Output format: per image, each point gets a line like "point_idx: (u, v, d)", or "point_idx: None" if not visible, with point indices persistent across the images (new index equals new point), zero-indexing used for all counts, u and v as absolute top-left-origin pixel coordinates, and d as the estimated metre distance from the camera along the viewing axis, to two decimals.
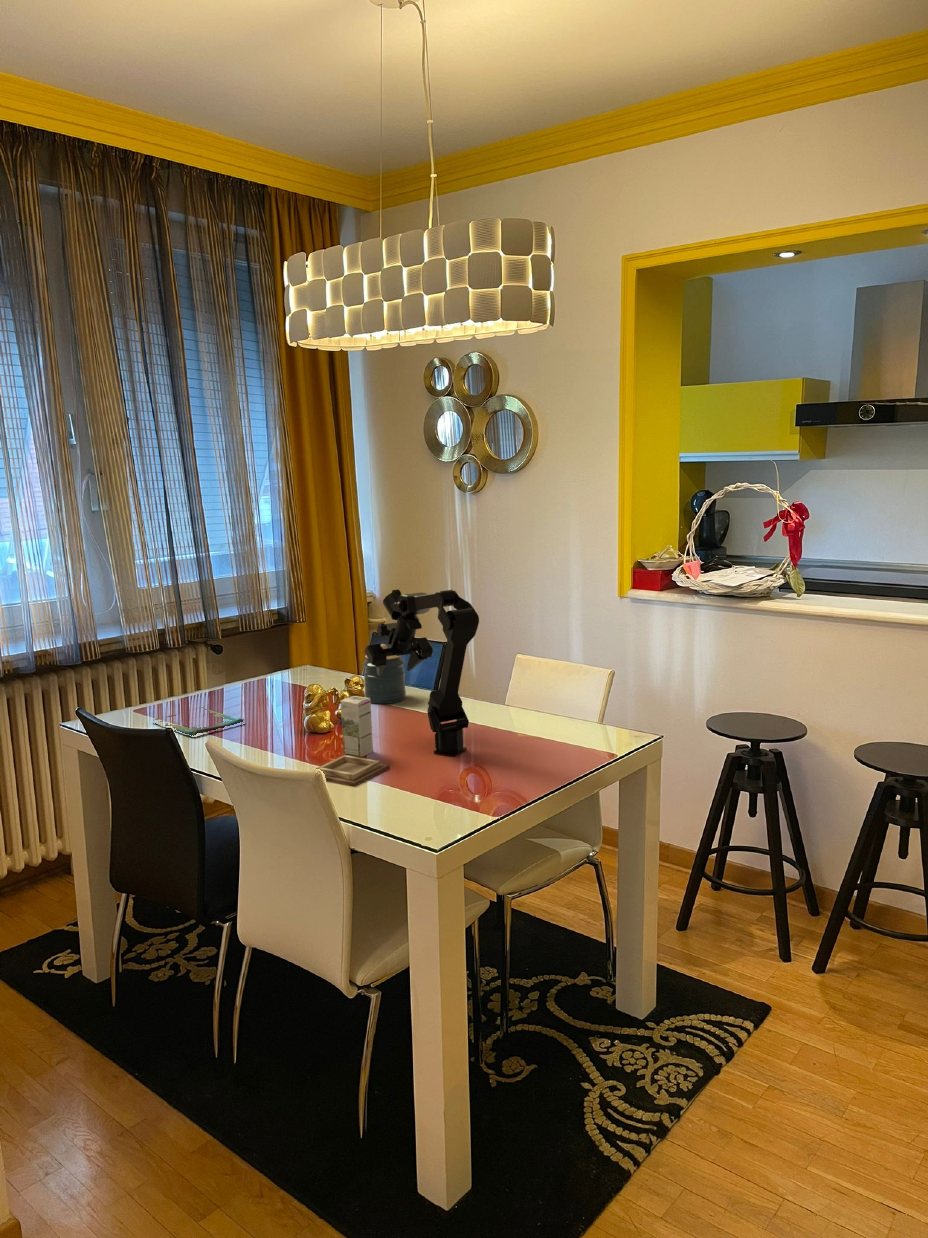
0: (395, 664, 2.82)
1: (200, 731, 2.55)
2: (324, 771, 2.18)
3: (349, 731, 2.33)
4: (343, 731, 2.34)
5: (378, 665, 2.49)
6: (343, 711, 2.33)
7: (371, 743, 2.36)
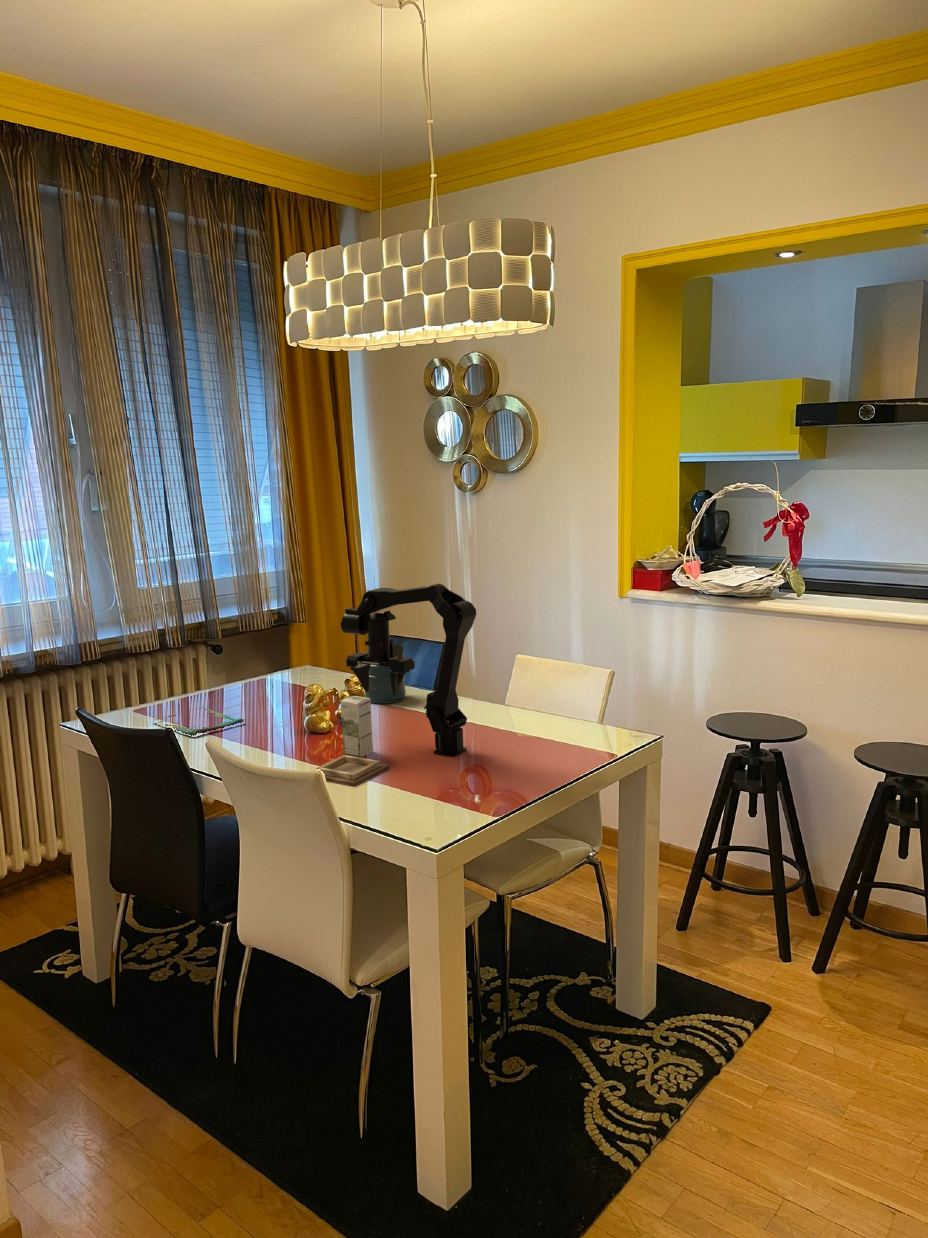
0: None
1: (200, 731, 2.55)
2: (324, 771, 2.18)
3: (349, 731, 2.33)
4: (343, 731, 2.34)
5: (350, 667, 2.43)
6: (343, 711, 2.33)
7: (371, 743, 2.36)
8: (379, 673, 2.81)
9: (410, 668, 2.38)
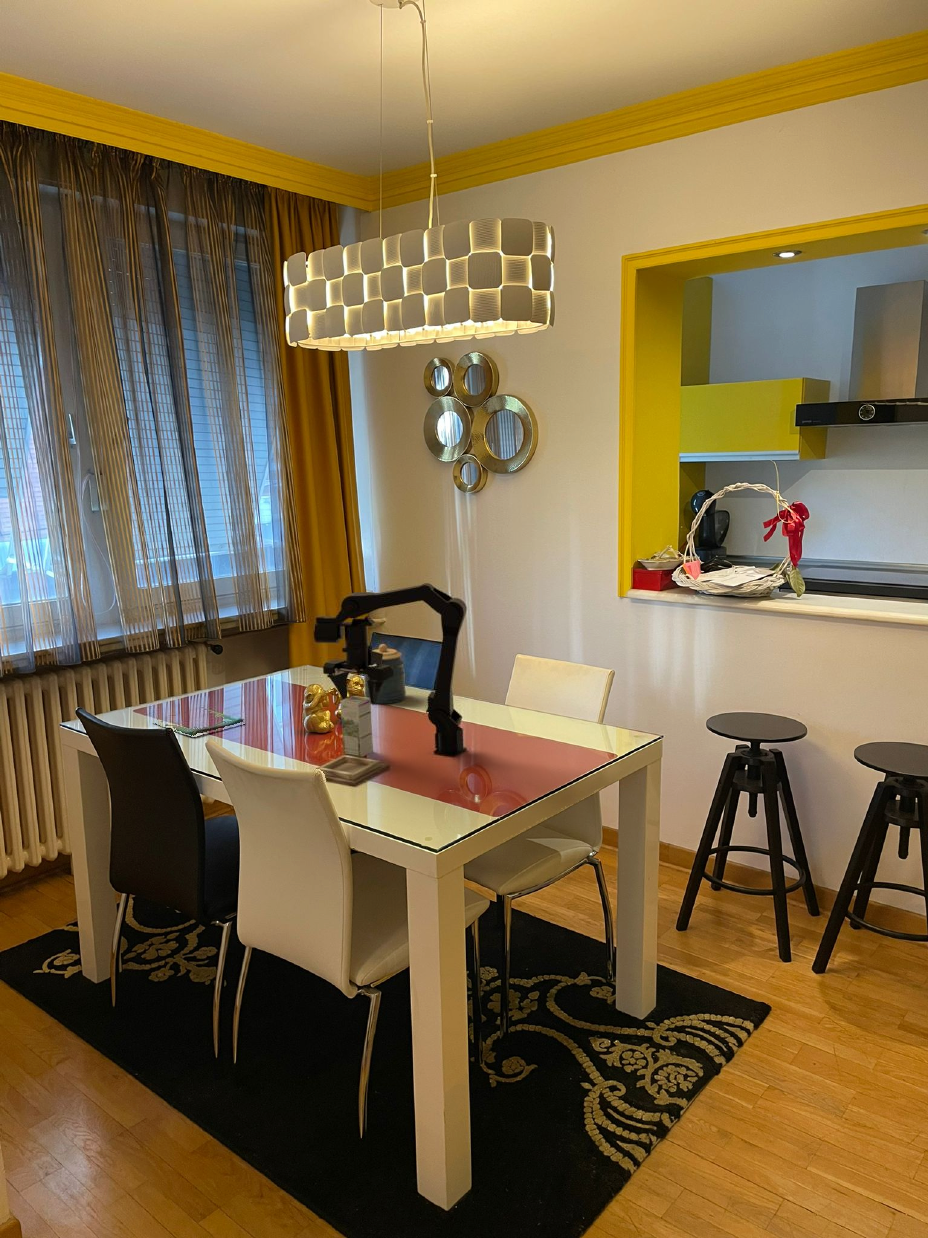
0: (395, 664, 2.82)
1: (200, 731, 2.55)
2: (324, 771, 2.18)
3: (349, 731, 2.33)
4: (343, 731, 2.34)
5: (328, 675, 2.35)
6: (343, 711, 2.33)
7: (371, 743, 2.36)
8: None
9: (389, 676, 2.29)
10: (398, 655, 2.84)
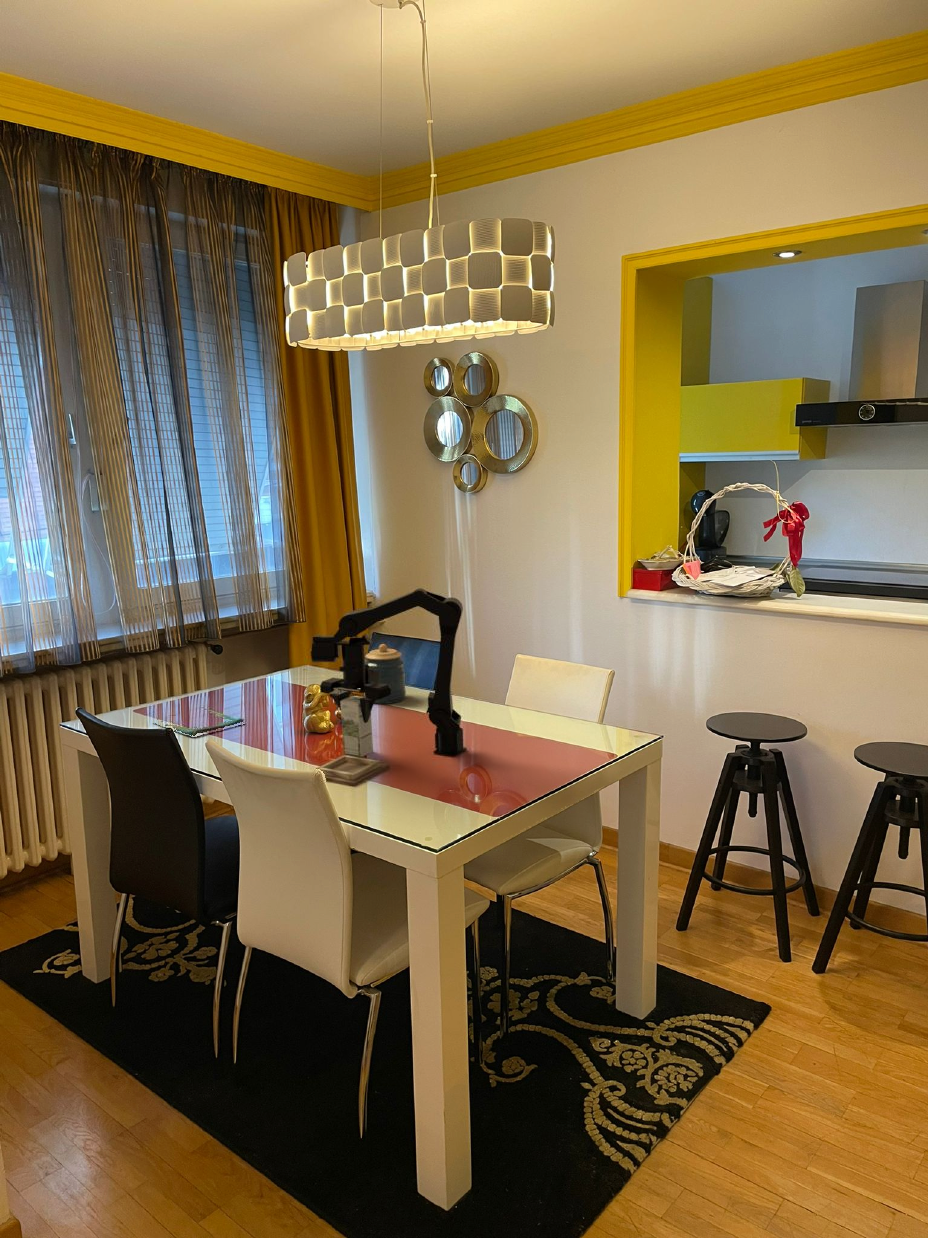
0: (395, 664, 2.82)
1: (200, 731, 2.55)
2: (324, 771, 2.18)
3: (349, 731, 2.33)
4: (343, 731, 2.34)
5: (330, 694, 2.34)
6: (343, 711, 2.33)
7: (371, 743, 2.36)
8: None
9: (386, 695, 2.29)
10: (398, 655, 2.84)
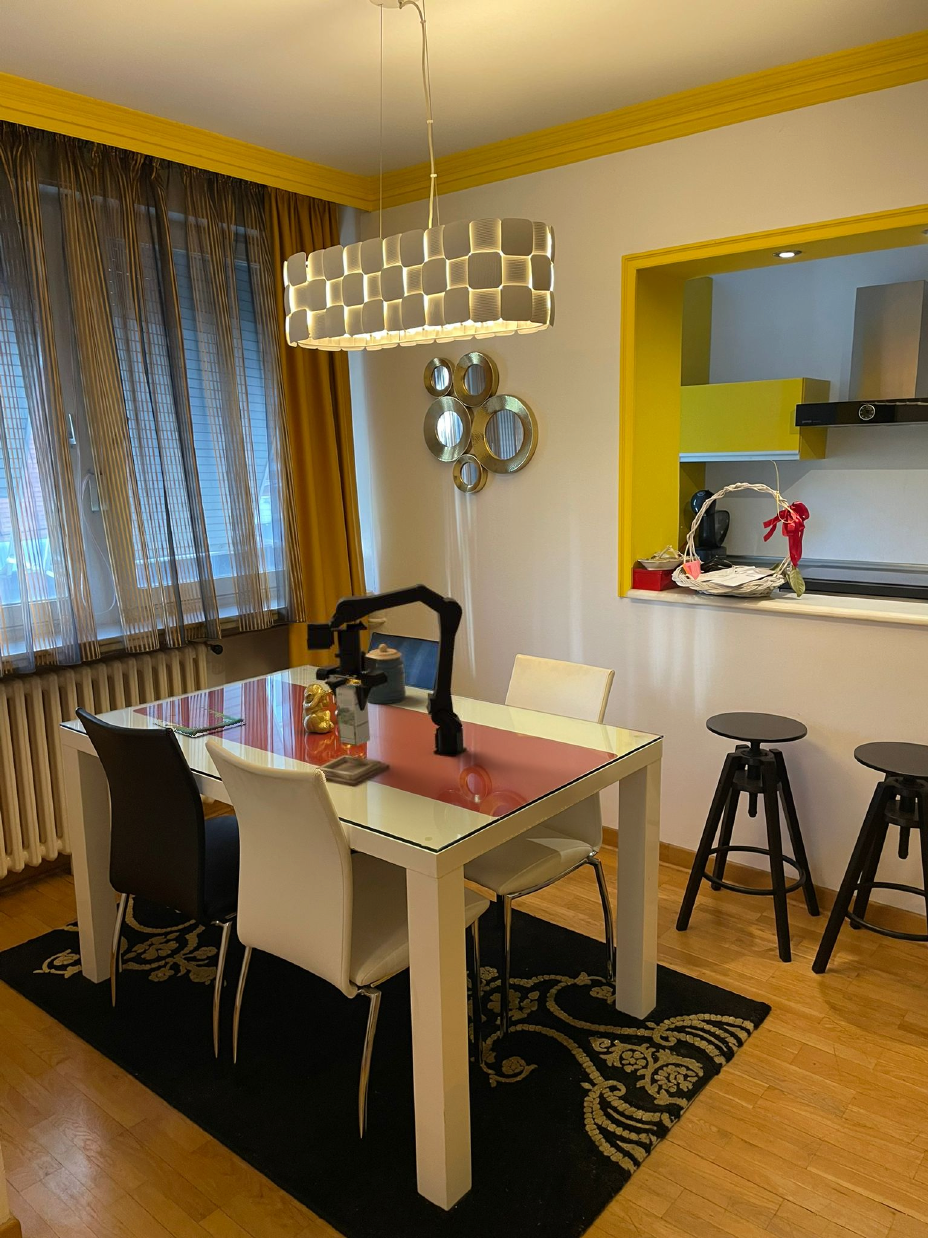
0: (395, 664, 2.82)
1: (200, 731, 2.55)
2: (324, 771, 2.18)
3: (345, 719, 2.27)
4: (339, 719, 2.29)
5: (325, 682, 2.29)
6: (339, 699, 2.27)
7: (368, 731, 2.31)
8: None
9: (382, 682, 2.24)
10: (398, 655, 2.84)
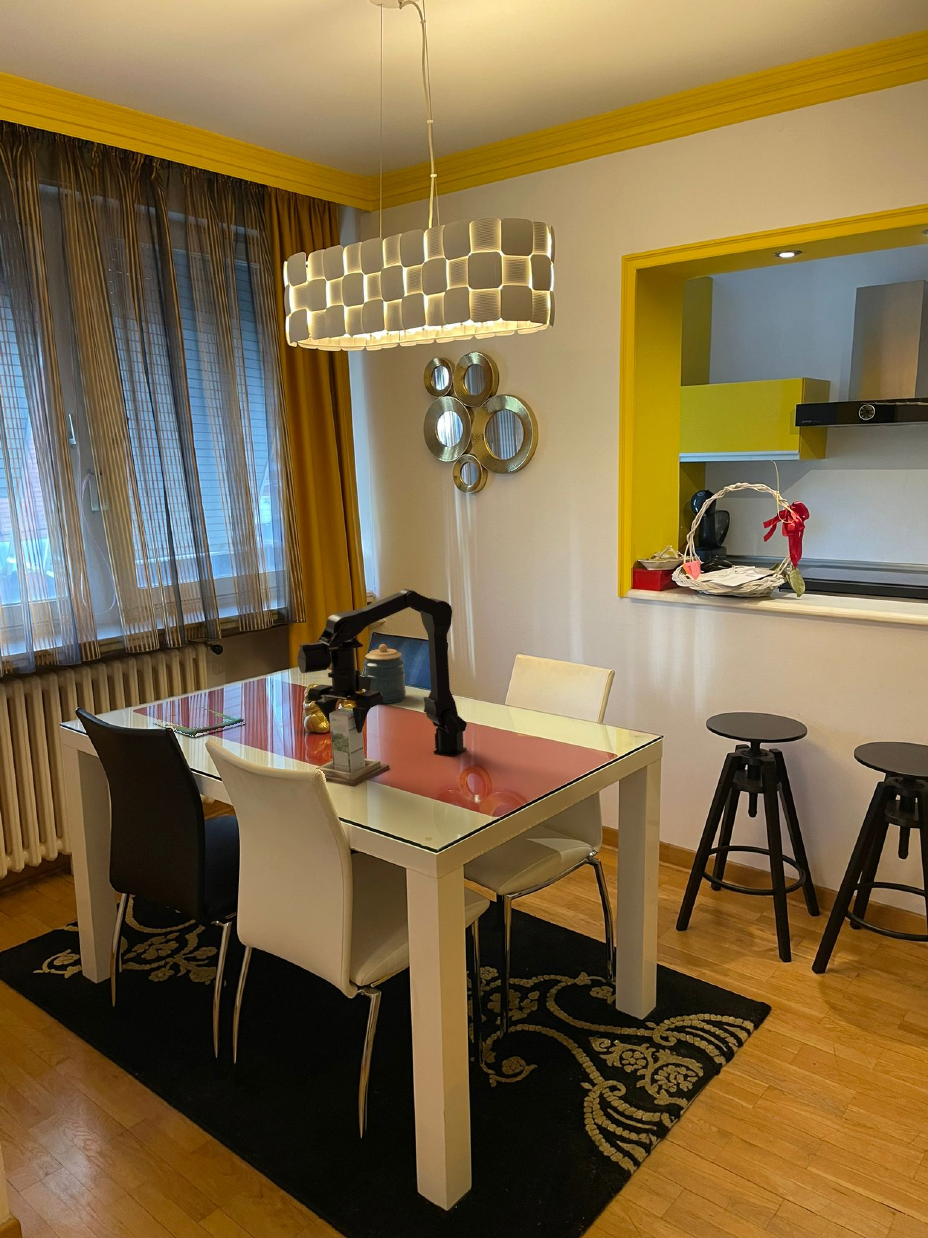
0: (395, 664, 2.82)
1: (200, 731, 2.55)
2: (324, 771, 2.18)
3: (339, 745, 2.18)
4: (332, 746, 2.19)
5: (315, 702, 2.19)
6: (332, 724, 2.18)
7: (363, 758, 2.21)
8: (379, 673, 2.81)
9: (378, 703, 2.14)
10: (398, 655, 2.84)
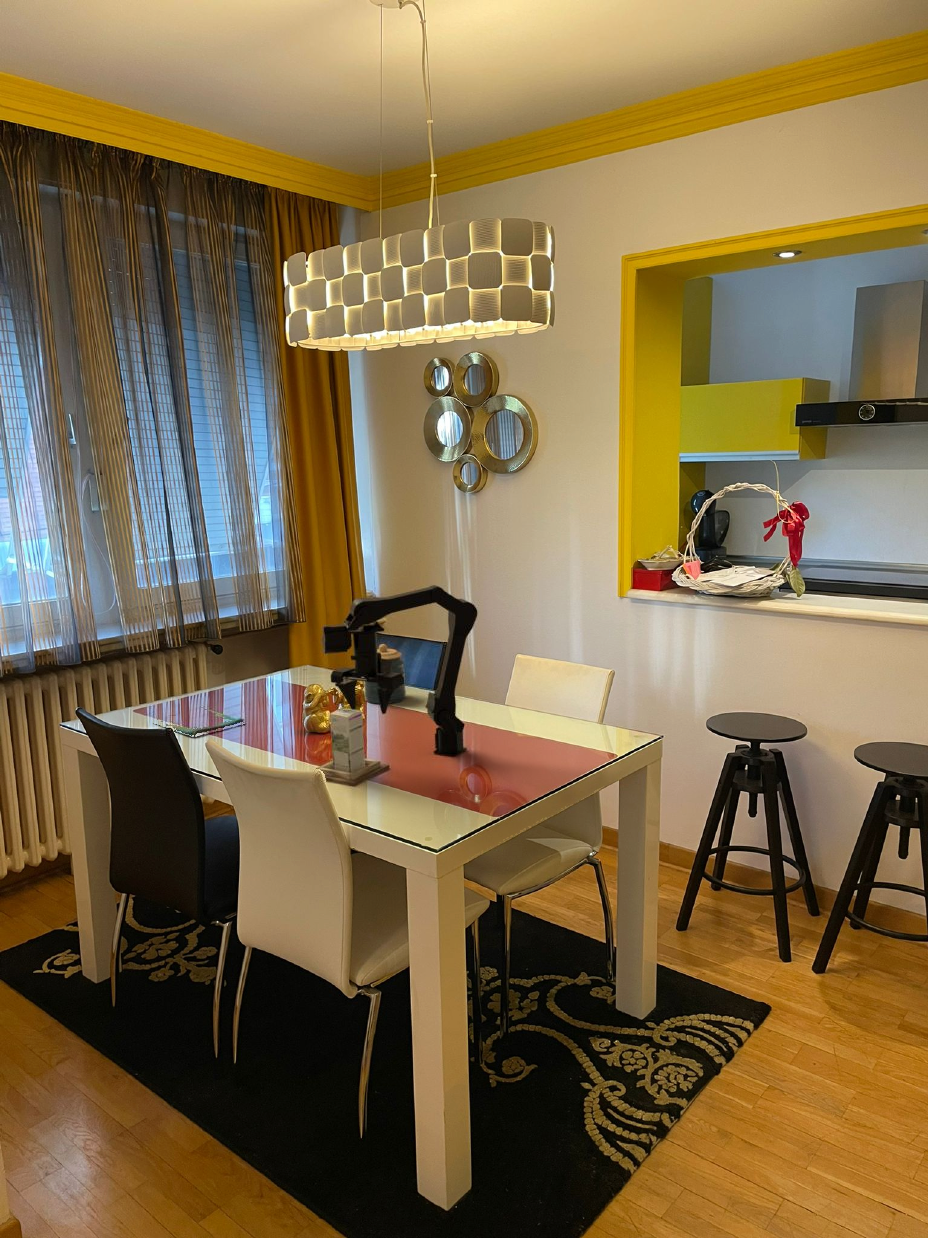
0: (395, 664, 2.82)
1: (200, 731, 2.55)
2: (324, 771, 2.18)
3: (339, 746, 2.18)
4: (333, 746, 2.19)
5: (335, 684, 2.27)
6: (333, 725, 2.18)
7: (363, 758, 2.21)
8: None
9: (399, 684, 2.21)
10: (398, 655, 2.84)
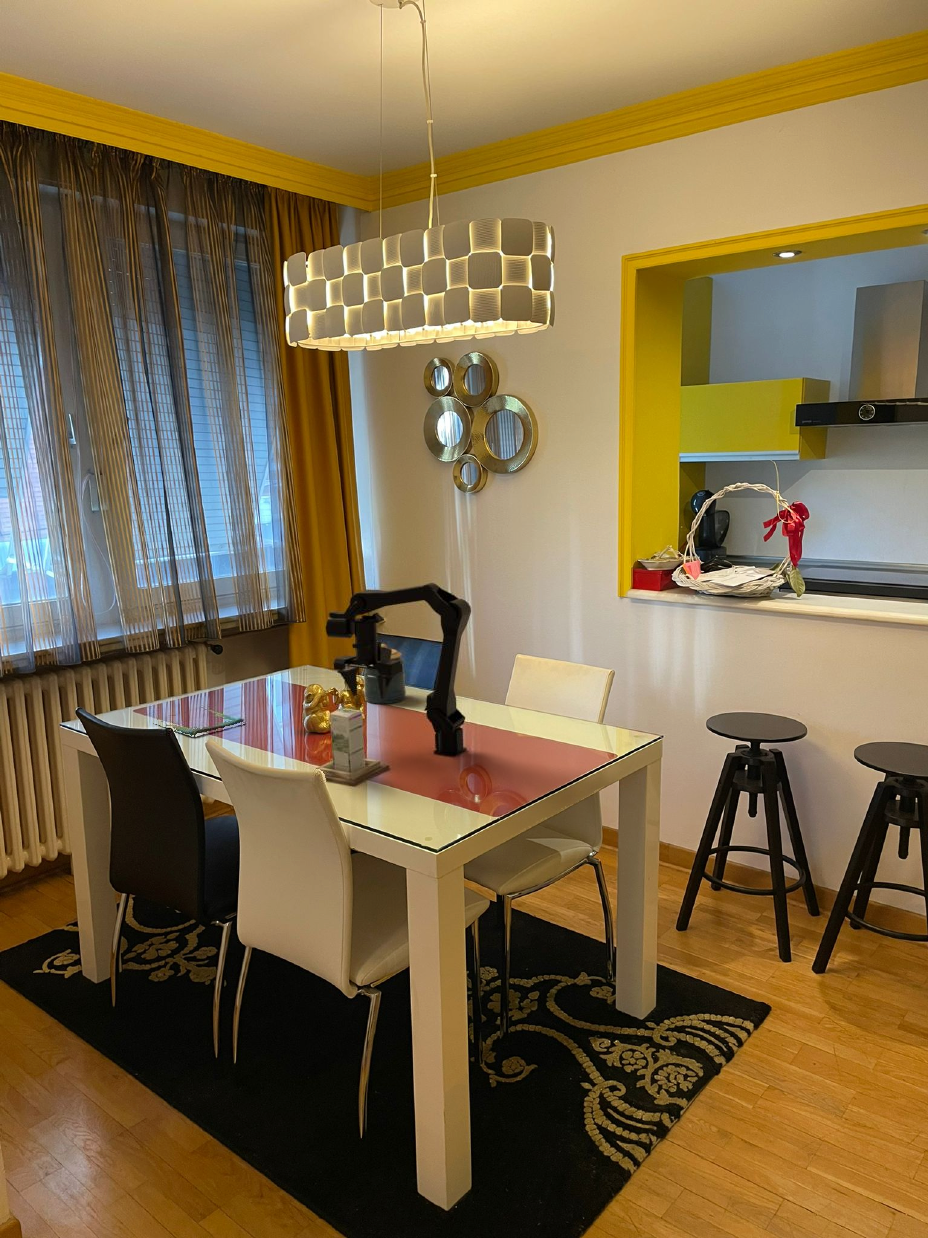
0: None
1: (200, 731, 2.55)
2: (324, 771, 2.18)
3: (339, 746, 2.18)
4: (333, 746, 2.19)
5: (338, 671, 2.40)
6: (333, 725, 2.18)
7: (363, 758, 2.21)
8: None
9: (398, 671, 2.35)
10: (398, 655, 2.84)
